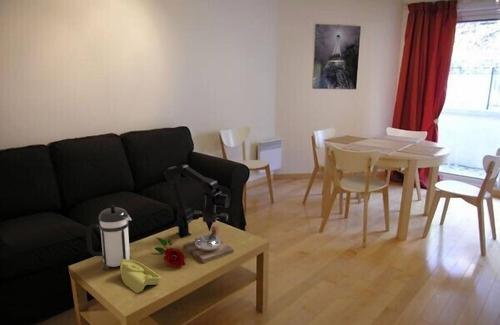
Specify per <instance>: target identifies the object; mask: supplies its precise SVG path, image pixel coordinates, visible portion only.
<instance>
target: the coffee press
mask: <svg viewBox="0 0 500 325" xmlns="http://www.w3.org/2000/svg"><path fill="white" fill-rule="evenodd" d="M98 220H99V223H92V224H90V225H89V226H88V227H87V229H86V231H85V238H86V248H87V252H88V253H89V254H90V255H91V256H93V257H102V261H103V266H102V271H107V270H108V268H109V267H111V268H112V267H113V268H114V267H119V266H120V264H121V260H123V259H127V260H131V257H132V256H131V253H130V252H131V251H130V242H129V241H130V240H129V239H130V238H129V221H132V218H131V217H130V215H129V213H128V212H127V211H126V210H125V209H124V208H122V207H116V205H115V204H111V205H110V206H109V208H106V209H104V210H102V211H101V212H100V213H99V215H98ZM97 228H99V230H100V238H101V248H102V249H101V250H102V251H94V249H93V247H92V239H91V238H92V237H91V231H92V230H93V229H97Z"/></svg>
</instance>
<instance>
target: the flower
mask: <svg viewBox="0 0 500 325" xmlns="http://www.w3.org/2000/svg"><path fill="white" fill-rule="evenodd" d="M155 238H156V240H158V242H160V244H161V245H162V246H163V247H164V248H163V247H160V246H159V247H158V246H157V247H153V249H154V250H155V251H157V252H158V253H160V254H164V256H163V259H164V261H165V262H166V263H167V264H168V265H169V267H172V268H180V269H181V268H182V267H184V266H186V262H185V259H186V256H185V254H184V253H183V252H182V251H181V250H180V249H179V248H172V247H171V246H172V245H173V242H172V240H171V239H170V238H167V241H166V240H165V239H164V238H161V237H157V236H156V237H155ZM166 246H170V247H169V248H168V247H166Z"/></svg>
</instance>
